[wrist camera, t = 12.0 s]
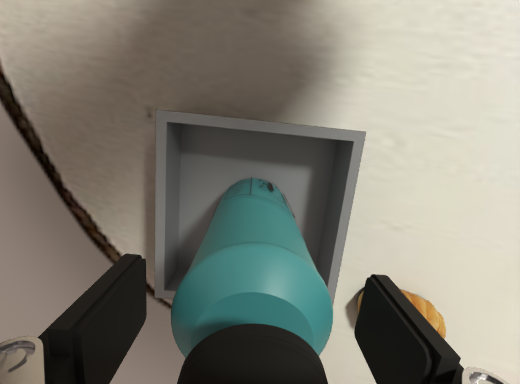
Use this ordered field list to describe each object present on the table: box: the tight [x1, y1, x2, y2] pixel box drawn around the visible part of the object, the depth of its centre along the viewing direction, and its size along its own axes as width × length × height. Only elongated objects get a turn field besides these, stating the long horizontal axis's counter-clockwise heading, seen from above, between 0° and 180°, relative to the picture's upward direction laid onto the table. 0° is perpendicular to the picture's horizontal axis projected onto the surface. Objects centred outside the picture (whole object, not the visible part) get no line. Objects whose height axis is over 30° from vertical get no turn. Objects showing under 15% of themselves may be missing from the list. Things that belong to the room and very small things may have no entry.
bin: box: [155, 110, 366, 307], centre depth 23 cm, size 16×16×5 cm
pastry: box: [357, 289, 446, 339], centre depth 27 cm, size 9×7×4 cm
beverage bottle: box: [171, 177, 333, 384], centre depth 15 cm, size 6×7×20 cm
